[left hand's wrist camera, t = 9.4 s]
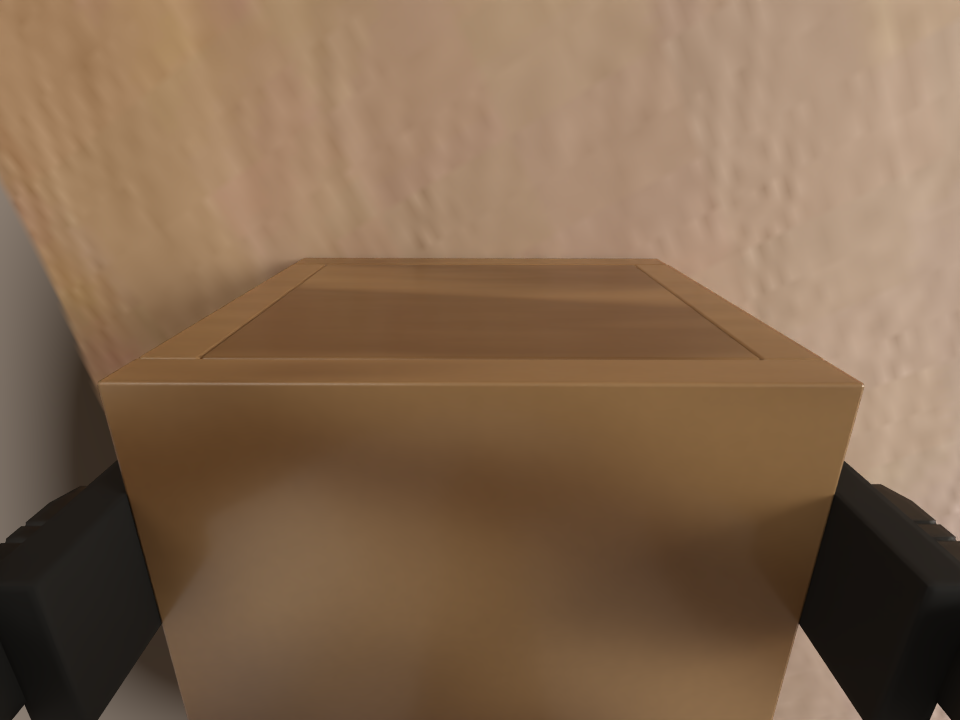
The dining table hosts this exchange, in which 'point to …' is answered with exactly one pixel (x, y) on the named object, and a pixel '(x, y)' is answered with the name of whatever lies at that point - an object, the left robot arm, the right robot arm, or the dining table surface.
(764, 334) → the cabinet
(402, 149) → the dining table surface
